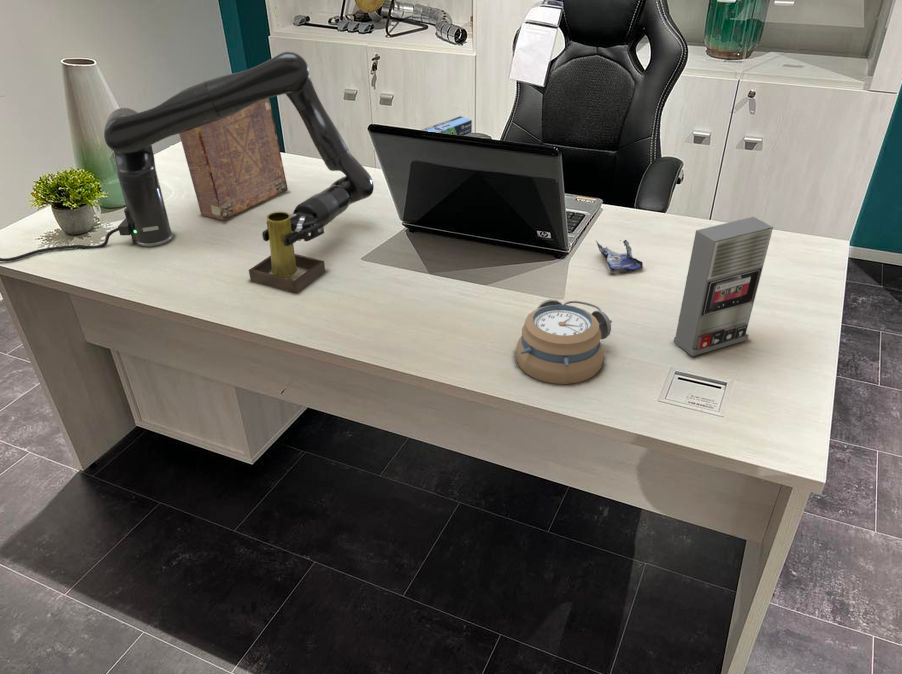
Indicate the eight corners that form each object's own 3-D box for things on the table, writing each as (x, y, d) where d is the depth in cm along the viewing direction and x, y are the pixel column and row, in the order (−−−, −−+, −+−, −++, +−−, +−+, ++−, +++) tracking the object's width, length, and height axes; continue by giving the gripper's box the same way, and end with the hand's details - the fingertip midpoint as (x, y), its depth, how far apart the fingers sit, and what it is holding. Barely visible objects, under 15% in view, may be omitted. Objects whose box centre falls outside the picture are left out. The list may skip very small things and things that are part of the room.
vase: (302, 268, 183) (297, 213, 174) (288, 280, 179) (282, 224, 170) (280, 262, 185) (274, 208, 176) (266, 274, 181) (259, 218, 172)
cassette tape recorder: (692, 358, 151) (717, 243, 137) (673, 342, 156) (694, 230, 141) (747, 341, 156) (777, 228, 141) (727, 327, 160) (753, 216, 146)
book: (266, 186, 229) (243, 82, 213) (288, 189, 225) (267, 83, 208) (201, 216, 213) (171, 105, 196) (223, 221, 208) (194, 108, 191)
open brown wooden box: (250, 281, 181) (248, 270, 180) (280, 260, 190) (278, 249, 188) (297, 293, 176) (295, 282, 174) (325, 271, 184) (324, 260, 182)
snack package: (641, 254, 188) (593, 249, 190) (646, 232, 184) (596, 228, 185) (640, 284, 180) (590, 279, 182) (645, 262, 175) (594, 257, 177)
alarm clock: (503, 330, 144) (549, 277, 160) (501, 370, 150) (546, 315, 166) (589, 353, 137) (628, 295, 153) (584, 394, 143) (623, 334, 159)
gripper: (291, 192, 187) (247, 218, 175) (340, 202, 182) (297, 230, 170) (295, 220, 192) (252, 248, 180) (343, 231, 186) (302, 261, 174)
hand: (274, 239), depth 175 cm, fingers closed on vase, 5 cm apart
